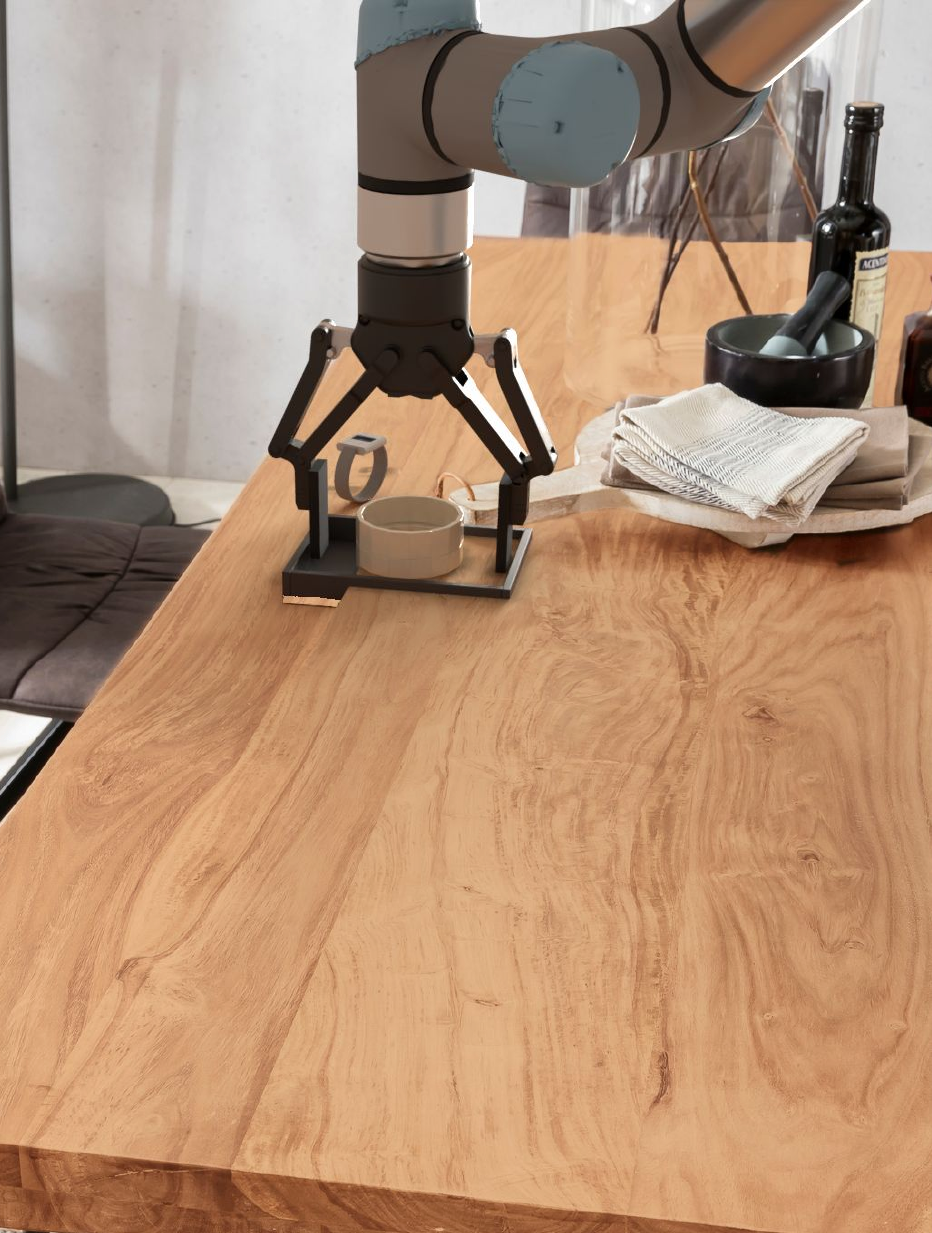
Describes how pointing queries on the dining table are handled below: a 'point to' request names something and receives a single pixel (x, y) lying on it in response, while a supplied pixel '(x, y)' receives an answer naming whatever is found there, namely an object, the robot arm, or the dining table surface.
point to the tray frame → (340, 573)
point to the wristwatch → (349, 448)
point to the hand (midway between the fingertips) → (410, 559)
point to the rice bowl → (409, 536)
